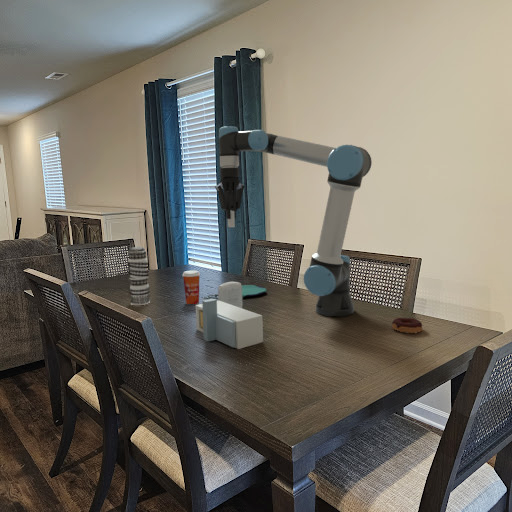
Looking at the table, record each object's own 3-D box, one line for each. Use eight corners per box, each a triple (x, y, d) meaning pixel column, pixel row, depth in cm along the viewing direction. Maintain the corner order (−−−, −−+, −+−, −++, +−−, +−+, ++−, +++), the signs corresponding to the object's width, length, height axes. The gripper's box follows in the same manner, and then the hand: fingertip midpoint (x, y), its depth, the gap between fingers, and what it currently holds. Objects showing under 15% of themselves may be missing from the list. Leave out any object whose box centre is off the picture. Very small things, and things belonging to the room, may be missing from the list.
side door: (235, 346, 144) (234, 305, 142) (224, 349, 142) (223, 308, 140) (214, 336, 154) (213, 298, 152) (203, 339, 152) (202, 300, 149)
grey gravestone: (238, 308, 191) (237, 279, 189) (244, 310, 187) (243, 281, 185) (217, 312, 185) (216, 282, 183) (222, 315, 182) (221, 284, 180)
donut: (425, 328, 160) (425, 317, 159) (419, 337, 152) (419, 325, 151) (396, 324, 165) (396, 314, 165) (388, 332, 157) (388, 321, 156)
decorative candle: (125, 305, 199) (121, 249, 195) (137, 300, 208) (133, 246, 204) (143, 306, 196) (140, 249, 192) (154, 301, 205) (151, 246, 201)
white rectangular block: (262, 341, 150) (262, 315, 148) (238, 349, 144) (237, 321, 142) (219, 323, 170) (219, 300, 169) (196, 329, 164) (195, 305, 163)
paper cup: (184, 306, 196) (183, 274, 194) (182, 301, 204) (181, 271, 201) (202, 304, 198) (201, 272, 196) (200, 300, 206) (198, 269, 203)
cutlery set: (274, 294, 214) (274, 289, 214) (219, 306, 197) (219, 301, 197) (250, 287, 230) (250, 283, 230) (197, 298, 213) (197, 293, 213)
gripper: (237, 167, 187) (239, 225, 190) (210, 167, 179) (212, 227, 183) (248, 167, 181) (249, 226, 184) (220, 167, 173) (222, 228, 177)
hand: (231, 226), depth 183 cm, fingers closed
